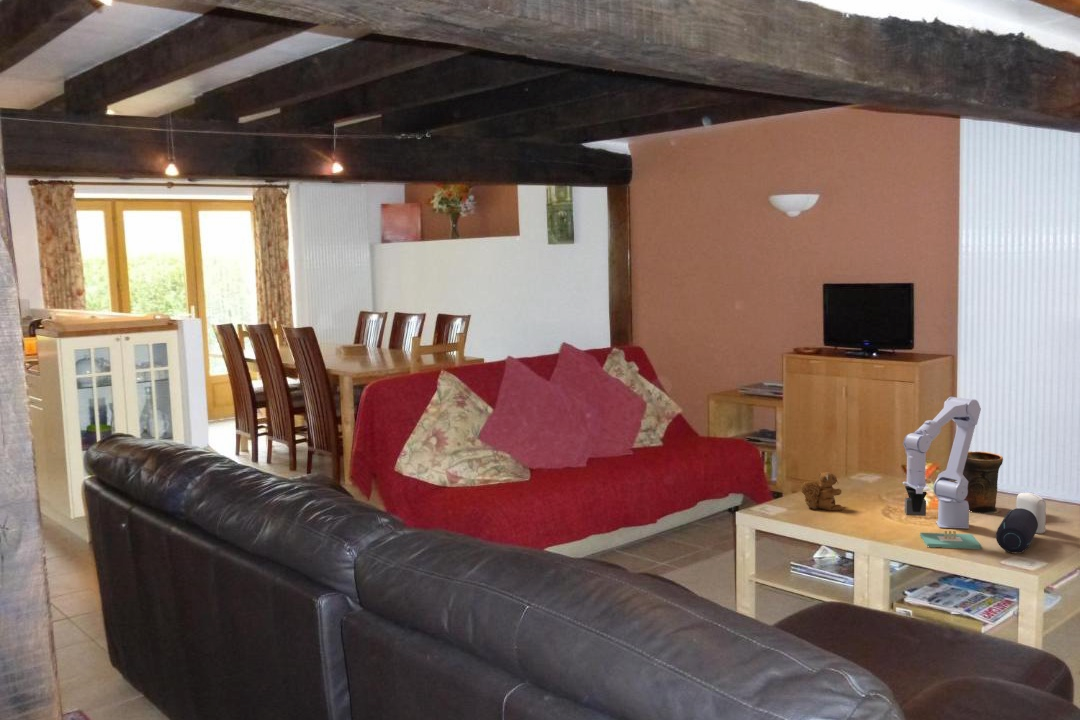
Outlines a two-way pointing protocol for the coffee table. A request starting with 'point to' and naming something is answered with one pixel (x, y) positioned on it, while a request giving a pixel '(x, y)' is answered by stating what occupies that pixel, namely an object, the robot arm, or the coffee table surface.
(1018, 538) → the portable speaker
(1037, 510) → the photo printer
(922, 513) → the plug housing
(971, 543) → the header board
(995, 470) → the vessel
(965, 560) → the coffee table surface
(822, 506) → the stuffed squirrel
